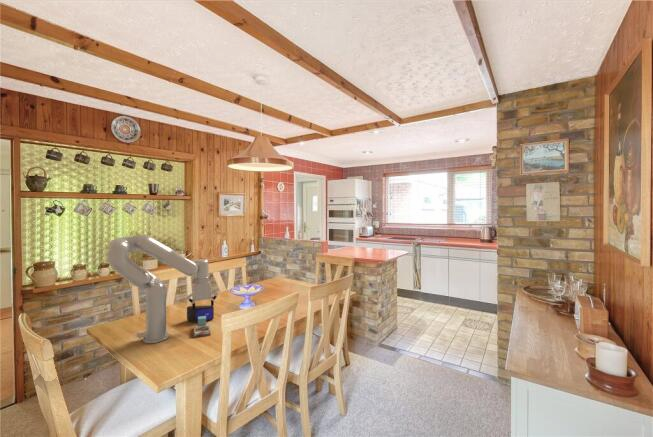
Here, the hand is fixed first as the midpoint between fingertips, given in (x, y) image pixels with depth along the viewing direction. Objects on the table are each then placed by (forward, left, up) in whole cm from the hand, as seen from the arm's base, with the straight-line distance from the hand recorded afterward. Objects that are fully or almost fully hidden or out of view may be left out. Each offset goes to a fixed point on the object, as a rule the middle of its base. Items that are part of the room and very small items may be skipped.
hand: (203, 308), depth 175 cm
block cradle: (-1, -9, -11) cm, 15 cm away
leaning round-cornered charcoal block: (-2, +12, -12) cm, 17 cm away
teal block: (-1, 0, -12) cm, 12 cm away
